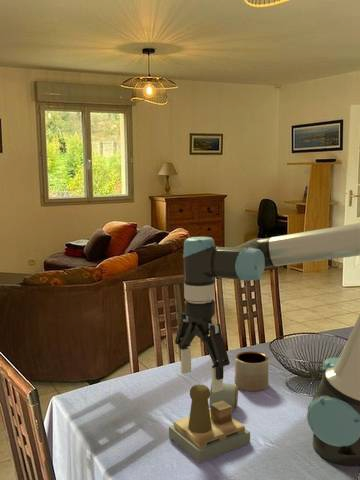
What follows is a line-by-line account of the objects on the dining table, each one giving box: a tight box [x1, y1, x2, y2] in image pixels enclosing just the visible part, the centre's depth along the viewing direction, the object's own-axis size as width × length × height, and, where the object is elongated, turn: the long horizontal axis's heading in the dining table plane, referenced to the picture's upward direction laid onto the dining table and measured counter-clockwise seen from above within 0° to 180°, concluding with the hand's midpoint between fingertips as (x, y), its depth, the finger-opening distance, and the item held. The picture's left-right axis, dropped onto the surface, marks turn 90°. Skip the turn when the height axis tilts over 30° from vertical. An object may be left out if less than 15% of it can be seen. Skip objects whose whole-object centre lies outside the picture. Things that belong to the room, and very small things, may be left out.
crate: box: [210, 401, 233, 425], centre depth 133 cm, size 4×4×4 cm
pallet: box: [173, 409, 246, 448], centre depth 131 cm, size 12×14×2 cm
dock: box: [168, 424, 251, 464], centre depth 132 cm, size 14×16×3 cm
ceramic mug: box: [208, 382, 239, 410], centre depth 150 cm, size 11×8×8 cm
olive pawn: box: [188, 384, 212, 433], centre depth 129 cm, size 6×6×11 cm
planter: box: [234, 350, 270, 393], centre depth 163 cm, size 11×11×10 cm
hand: (201, 381), depth 127 cm, fingers open, 13 cm apart
